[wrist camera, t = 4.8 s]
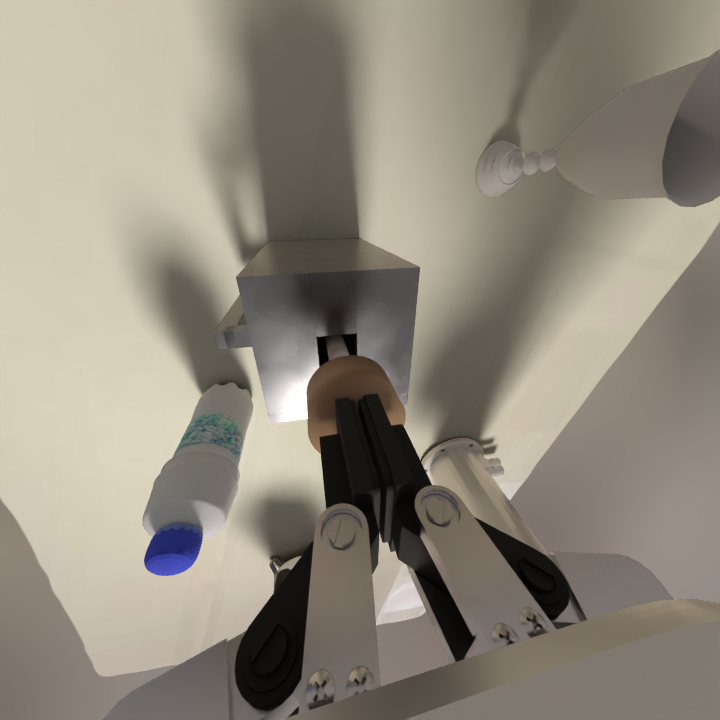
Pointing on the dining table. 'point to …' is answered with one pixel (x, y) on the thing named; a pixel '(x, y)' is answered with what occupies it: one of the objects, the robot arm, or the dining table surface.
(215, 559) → the dining table surface
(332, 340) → the plunger
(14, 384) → the dining table surface
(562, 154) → the chalice
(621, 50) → the dining table surface
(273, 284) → the grey peg holder block
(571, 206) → the dining table surface
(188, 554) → the bottle
